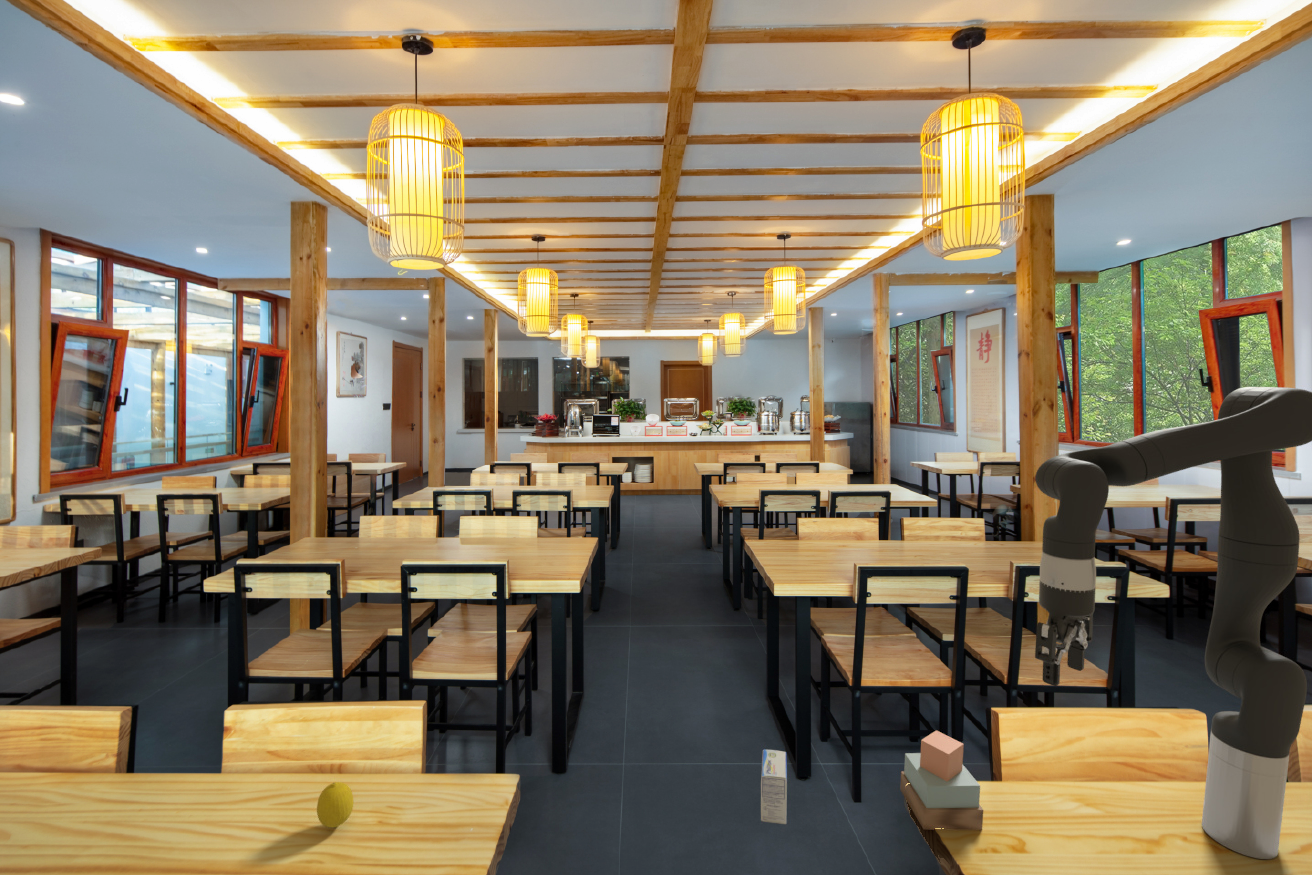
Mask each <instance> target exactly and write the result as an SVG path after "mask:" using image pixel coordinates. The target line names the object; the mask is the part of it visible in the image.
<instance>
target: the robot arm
mask: <svg viewBox="0 0 1312 875" xmlns="http://www.w3.org/2000/svg"><path fill="white" fill-rule="evenodd" d="M1217 414H1218V415H1217V419H1216V420H1211V421H1206V422H1201V423H1196V424H1189V425H1183V426H1175V427H1170V428H1169V427H1168V428H1164V429H1158V430H1154V431H1150V432H1146V433H1142V434H1138V435H1135V436H1132V437H1129V438H1126V439H1122V440H1120V441H1117V442H1114V443H1112V444H1110V445H1109V444H1108V445H1106V446H1100V447H1093V448H1087V449H1083V450H1082V449H1081V450H1077V451H1072V452H1067V453H1066V452H1065V453H1063V454H1059V455H1054V456H1053V457H1050V458H1049V459H1046V461H1044V462H1043V463H1042V464H1041V465H1040V466H1039V467H1038V469H1037V470H1036V473H1035V484H1036V486H1037V488H1038V489H1039V490H1040V492H1041V493H1042V494H1044V495H1046V496H1047V497H1049V498H1051V499H1055V500H1058V501H1059V505H1058V510H1057V513H1056V514H1054V515H1051V516H1048V517H1047V518H1046V519H1045V520H1044V523H1043V527H1042V548H1041V549H1042V551H1041V558H1040V563H1039V584H1038V585H1039V587H1038V589H1039V590H1038V592H1039V593H1038V604H1039V606H1040V607H1041V608H1043V609H1045V610H1046V611H1047V612H1048V618H1047V620H1046V623H1043V622H1040V621H1039V622H1037V624H1036V633H1035V650H1034V658H1035V659H1036V660H1039V661H1042V681H1043V683H1045V684H1048V685H1050V686H1053V687H1057V686H1059V685H1060V676H1061V674H1060V673H1061V662H1062V657H1063V655H1064V654H1066V653H1067V661H1066V663H1067V667H1068V668H1070V669H1072V670H1076V671H1080V672H1081V671H1083V670H1084V668H1085V650H1086V649H1087V648H1088V644H1089V643H1092V642H1093V638H1094V637H1093V633H1094V630H1093V629H1094V628H1093V626H1094V625H1093V624H1094V616H1093V615H1094V613H1095V610H1096V609H1095V608H1096V606H1095V605H1096V586H1097V585H1096V583H1097V580H1096V579H1097V567H1096V557H1095V556H1096V532H1097V529H1098V527H1099V525H1100V522H1101V520H1102V516H1103V513H1104V510H1105V508H1106V504H1107V502H1108V498H1109V492H1110V491H1109V486H1111V487H1112V486H1113V487H1130V486H1131V487H1132V486H1135V485H1138V484H1141V483H1145V482H1148V481H1151V480H1154V479H1155V480H1156V479H1157V478H1160V477H1165V476H1167V475H1170V474H1174V473H1177V472H1180V471H1183V470H1186V469H1190V468H1194V467H1197V466H1202V465H1206V464H1209V463H1214V462H1218V461H1219V462H1220V475H1221V476H1220V477H1221V478H1220V481H1221V482H1220V513H1219V514H1220V515H1219V516H1220V517H1219V518H1220V519H1219V526H1218V537H1217V553H1216V555H1217V556H1216V557H1217V568H1216V570H1217V571H1216V582H1215V592H1214V605H1213V610H1212V616H1211V622H1210V626H1209V630H1208V636H1207V640H1206V645H1205V652H1204V668H1205V672H1206V674H1207V676H1208V677H1209V680H1211V682H1213V683H1214V684H1215V685H1216V686H1218V687H1220V688H1221V689H1222V690H1225V691H1226V692H1227V693H1230V694H1231V695H1233V696H1234V697H1236V698H1239V699H1240V700H1241V703H1240V709H1239V711H1232V710H1225V711H1219V712H1216V713H1214V715H1213V716H1212V719H1211V728H1210V735H1209V736H1210V737H1209V748H1208V757H1207V758H1208V759H1207V760H1208V761H1207V768H1206V776H1205V777H1206V779H1205V788H1204V789H1205V790H1204V798H1203V808H1202V815H1201V816H1202V818H1201V827H1202V829H1203V831H1205V833H1206V834H1207V835H1208V836H1209V837H1210V838H1212V840H1214V841H1215V842H1217V843H1218V844H1220V845H1221V846H1224V847H1226V848H1227V849H1229V850H1232V851H1233V852H1236V853H1238V854H1241V855H1243V856H1247V857H1250V858H1254V859H1261V860H1271V859H1274V858H1276V857H1277V856H1278V855H1279V846H1280V837H1281V830H1282V823H1283V812H1284V804H1285V798H1286V797H1285V794H1286V785H1287V779H1288V768H1289V760H1290V751H1291V747H1292V746H1293V744H1294V742H1295V740H1296V739H1297V738H1298V736H1299V732H1300V729H1301V723H1302V718H1303V713H1304V708H1305V703H1306V700H1307V699H1306V698H1307V693H1308V692H1307V691H1308V685H1307V682H1308V681H1307V677H1306V675H1305V673H1304V670H1303V669H1302V667H1301V666H1300V665H1299V664H1297V663H1296V662H1295V661H1293V660H1292V659H1290V658H1288V657H1287V656H1286V657H1285V656H1283V655H1281V654H1279V653H1277V652H1275V651H1273V650H1271V649H1268V648H1266V647H1264V646H1262V645H1261V638H1260V636H1261V632H1260V631H1261V622H1262V619H1263V616H1264V615H1263V614H1264V612H1265V610H1266V609H1267V608H1268V605H1270V603H1272V601H1273V600H1275V599H1276V598H1277V596H1279V595H1280V594H1281V593H1282V592H1283V591H1284V590H1285V589H1286V588H1287V586H1288V585H1289V584H1290V583H1291V582H1292V580H1293V579H1294V578H1295V576H1296V574H1297V571H1298V565H1299V554H1300V553H1299V552H1300V530H1299V529H1300V528H1299V525H1298V522H1297V521H1296V518H1295V517H1294V514H1293V512H1292V510H1291V508H1290V506H1289V505H1288V503H1287V501H1286V500H1285V497H1284V496H1283V493H1282V492H1281V491H1280V488H1279V487H1278V485H1277V482H1276V478H1275V476H1274V471H1273V451H1274V450H1275V451H1278V450H1282V449H1289V448H1296V447H1302V446H1304V445H1306V444H1308V443H1311V442H1312V391H1309V390H1308V389H1307V390H1306V389H1302V388H1295V387H1279V386H1278V387H1277V386H1245V387H1239V388H1237V389H1235V390H1233V391H1232V392H1230V393H1228V395H1226V396H1225V398H1224V399H1223V401H1222V403H1221V405H1220V407H1219V409H1218V413H1217Z"/></svg>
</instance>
